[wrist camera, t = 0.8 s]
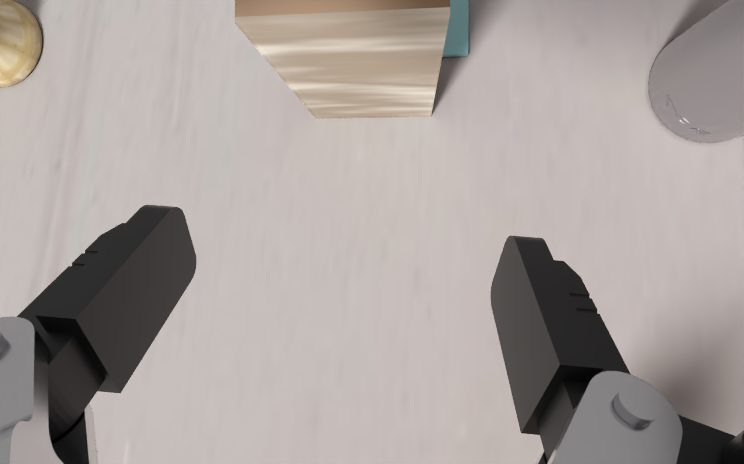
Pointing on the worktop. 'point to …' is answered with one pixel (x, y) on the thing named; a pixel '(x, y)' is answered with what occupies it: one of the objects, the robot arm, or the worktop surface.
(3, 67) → the hand bell
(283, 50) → the block
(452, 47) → the mat
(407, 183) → the worktop surface
